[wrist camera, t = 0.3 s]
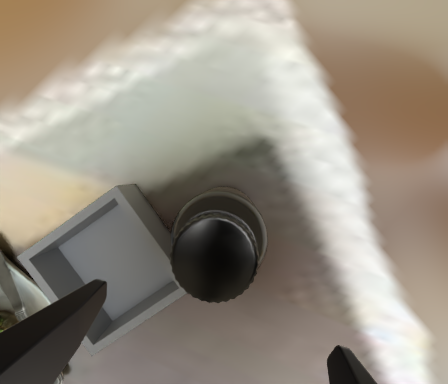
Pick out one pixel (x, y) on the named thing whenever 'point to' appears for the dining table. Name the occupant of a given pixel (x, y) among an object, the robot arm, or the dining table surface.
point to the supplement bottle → (217, 244)
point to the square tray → (109, 262)
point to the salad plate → (19, 297)
